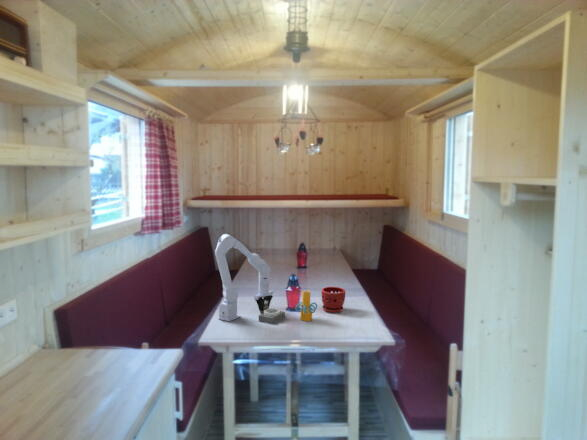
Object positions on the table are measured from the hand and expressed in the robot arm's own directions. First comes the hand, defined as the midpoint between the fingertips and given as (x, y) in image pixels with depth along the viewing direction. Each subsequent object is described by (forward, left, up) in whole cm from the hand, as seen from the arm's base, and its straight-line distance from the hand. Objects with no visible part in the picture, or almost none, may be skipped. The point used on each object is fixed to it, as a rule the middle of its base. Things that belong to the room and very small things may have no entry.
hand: (264, 309), depth 235 cm
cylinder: (+4, -25, -3) cm, 25 cm away
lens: (0, 0, -2) cm, 2 cm away
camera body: (-5, -9, -2) cm, 11 cm away
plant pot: (+25, -30, -3) cm, 39 cm away
